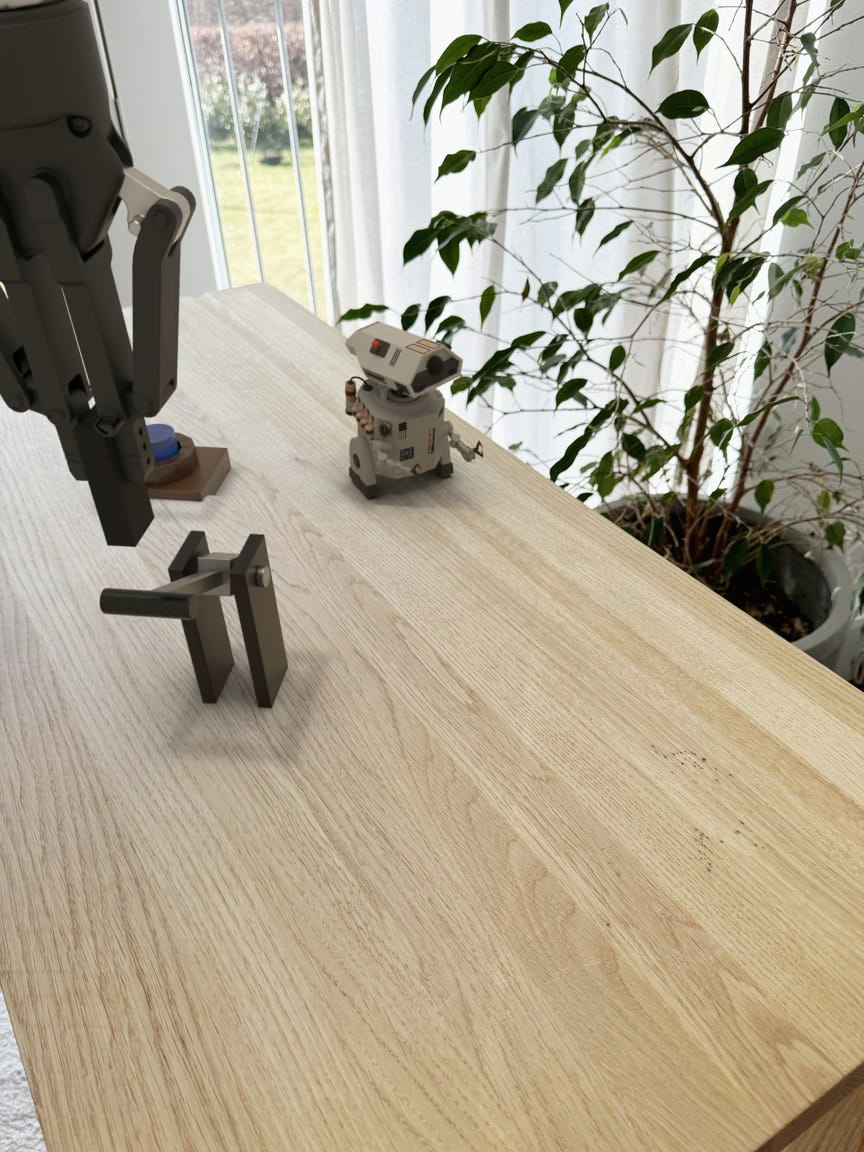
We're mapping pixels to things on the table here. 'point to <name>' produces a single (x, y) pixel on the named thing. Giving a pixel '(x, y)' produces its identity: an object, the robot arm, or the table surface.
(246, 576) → the lever bracket
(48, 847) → the table surface
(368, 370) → the figurine
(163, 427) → the button
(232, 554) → the lever
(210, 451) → the switch block
